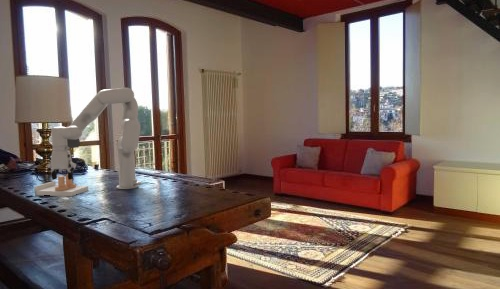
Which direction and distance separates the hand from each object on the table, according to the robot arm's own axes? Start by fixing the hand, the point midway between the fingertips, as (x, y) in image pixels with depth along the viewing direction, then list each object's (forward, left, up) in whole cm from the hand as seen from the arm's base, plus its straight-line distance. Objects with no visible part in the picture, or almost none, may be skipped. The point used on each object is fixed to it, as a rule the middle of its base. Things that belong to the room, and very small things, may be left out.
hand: (62, 179), depth 205 cm
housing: (+2, -3, -8) cm, 9 cm away
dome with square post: (0, 0, -8) cm, 8 cm away
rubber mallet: (+18, -34, -9) cm, 39 cm away
